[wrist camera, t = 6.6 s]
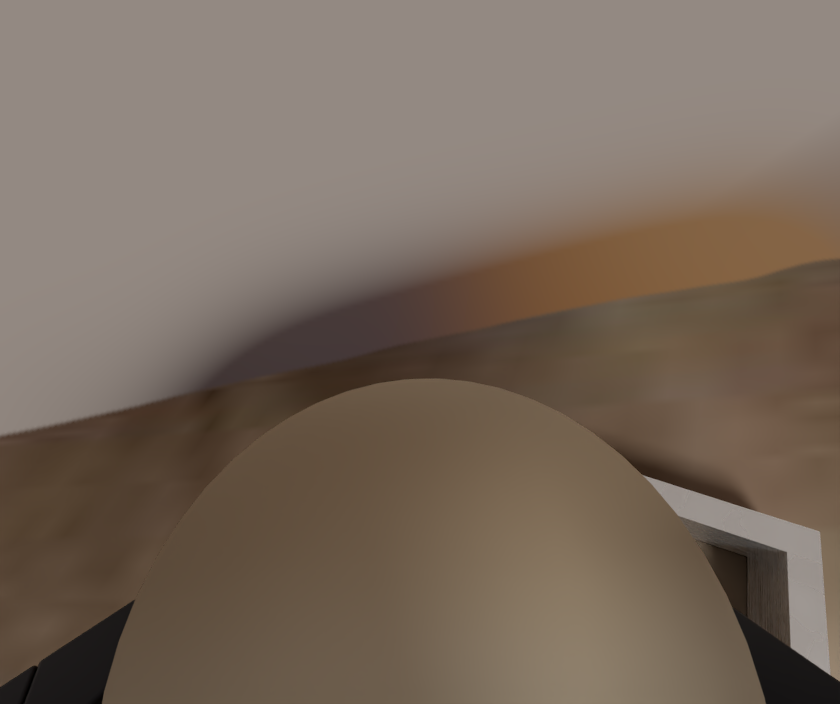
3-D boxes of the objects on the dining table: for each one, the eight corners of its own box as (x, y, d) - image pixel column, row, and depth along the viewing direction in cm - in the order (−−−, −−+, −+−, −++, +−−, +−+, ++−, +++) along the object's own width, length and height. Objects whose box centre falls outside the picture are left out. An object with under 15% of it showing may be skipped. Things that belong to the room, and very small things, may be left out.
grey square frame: (785, 823, 15) (844, 863, 13) (511, 700, 17) (521, 716, 15) (776, 538, 19) (819, 531, 17) (559, 467, 21) (572, 453, 19)
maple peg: (549, 731, 12) (979, 1271, 2) (346, 745, 12) (-50, 1330, 2) (513, 516, 15) (642, 360, 5) (349, 528, 15) (174, 397, 5)
